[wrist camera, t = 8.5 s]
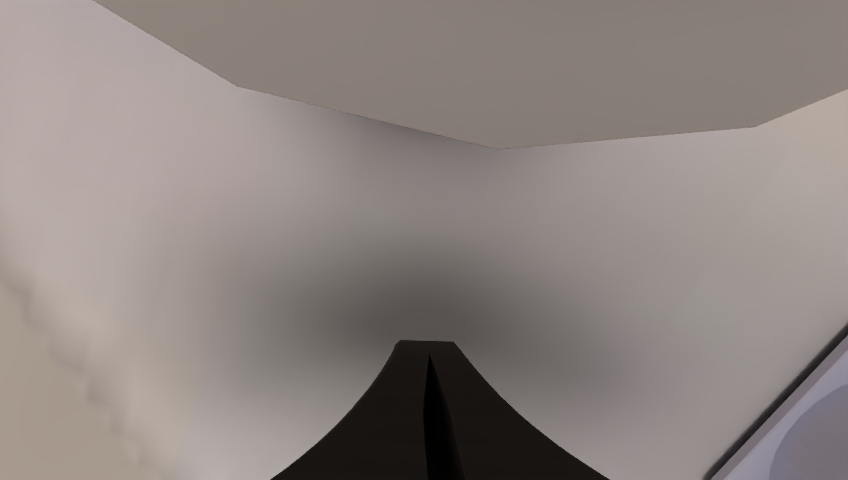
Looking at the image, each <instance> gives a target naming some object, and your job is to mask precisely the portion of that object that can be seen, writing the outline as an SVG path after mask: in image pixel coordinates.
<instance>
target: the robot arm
mask: <svg viewBox="0 0 848 480" xmlns="http://www.w3.org/2000/svg"><path fill="white" fill-rule="evenodd" d="M270 480H609V479H608V478H606V477H604V476H603V475H601V474H600V473H598V472H597V471H595V470H594V469H592V468H591V467H589V466H588V465H586V464H585V463H583V462H581V461H580V460H578V459H577V458H575V457H574V456H572V455H571V454H570V453H568V452H567V451H565V450H564V449H562V448H561V447H560V446H558V445H557V444H556V443H554V442H553V441H552V440H550V439H549V438H548V437H547V436H545V435H544V434H543V433H542V432H540V431H539V430H538V429H536V428H535V427H534V426H533V425H531V424H530V423H529V422H528V421H527V420H525V419H524V418H523V417H522V416H521V415H520V414H519V413H518V412H516V411H515V410H514V409H513V408H512V407H511V406H510V405H509V404H508V403H507V402H506V401H505V400H504V399H503V398H502V397H501V396H500V395H499V394H498V393H497V392H496V391H495V390H494V389H493V388H492V387H491V386H490V385H489V384H488V382H487V381H486V380H485V379H484V378H483V377H482V376H481V375H480V373H479V372H478V371H477V370H476V369H475V368H474V366H473V365H472V364H471V363H470V361H469V360H468V359H467V358H466V356H465V355H464V354H463V353H462V351H461V350H460V349H459V348H458V346H457V345H456V344H455V343H454V342H445V341H411V340H400V341H399V342H398V343H397V344H396V345H395V347H394V350H393V352H392V354H391V356H390V358H389V359H388V361H387V363H386V364H385V366H384V367H383V369H382V370H381V372H380V373H379V375H378V376H377V378H376V379H375V380H374V382H373V383H372V385H371V386H370V387H369V389H368V390H367V391H366V392H365V393H364V395H363V396H362V397H361V398H360V399H359V401H358V402H357V403H356V404H355V405H354V407H353V408H352V409H351V410H350V411H349V412H348V413H347V414H346V416H345V417H344V418H343V419H342V420H341V421H340V422H339V423H338V424H337V425H336V426H335V427H334V428H333V429H332V430H331V431H330V432H329V433H328V434H327V435H325V436H324V437H323V438H322V439H321V440H320V441H319V442H318V443H317V444H315V445H314V446H313V447H312V448H311V449H310V450H308V451H307V452H306V453H305V454H304V455H302V456H301V457H300V458H299V459H298V460H296V461H295V462H294V463H292V464H291V465H290V466H289V467H287V468H286V469H285V470H283V471H282V472H281V473H279V474H278V475H276V476H275V477H273V478H272V479H270ZM711 480H848V335H847V336H846V337H845V338H844V339H843V340H842V341H841V343H840V344H839V345H838V346H837V347H836V348H835V349H834V350H833V351H832V352H831V353H830V354H829V355H828V356H827V357H826V358H825V359H824V360H823V361H822V363H821V364H820V365H819V366H818V367H817V368H816V369H815V370H814V371H813V372H812V373H811V374H810V375H809V376H808V377H807V378H806V379H805V380H804V381H803V383H802V384H801V385H800V386H799V387H798V388H797V389H796V390H795V391H794V392H793V393H792V394H791V395H790V396H789V397H788V398H787V399H786V400H785V402H784V403H783V404H782V405H781V406H780V407H779V408H778V409H777V410H776V411H775V412H774V413H773V414H772V415H771V416H770V417H769V418H768V419H767V420H766V422H765V423H764V424H763V425H762V426H761V427H760V428H759V429H758V430H757V431H756V432H755V433H754V434H753V435H752V436H751V437H750V438H749V439H748V440H747V442H746V443H745V444H744V445H743V446H742V447H741V448H740V449H739V450H738V451H737V452H736V453H735V454H734V455H733V456H732V457H731V458H730V459H729V460H728V462H727V463H726V464H725V465H724V466H723V467H722V468H721V469H720V470H719V471H718V472H717V473H716V474H715V475H714V476H713V477H712V478H711Z"/></svg>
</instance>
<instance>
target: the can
mask: <svg viewBox="0 0 848 480" xmlns="http://www.w3.org/2000/svg"><path fill="white" fill-rule="evenodd" d="M93 1H95V2H97V3H98V4H100V5H102V6H103V7H105V8H107V9H108V10H110V11H112V12H113V13H115V14H117V15H118V16H120V17H122V18H123V19H125V20H127V21H128V22H130V23H132V24H133V25H135V26H137V27H138V28H140V29H142V30H144V31H145V32H147V33H149V34H150V35H152V36H154V37H155V38H157V39H159V40H160V41H162V42H164V43H165V44H167V45H169V46H170V47H172V48H174V49H175V50H177V51H179V52H180V53H182V54H184V55H185V56H187V57H189V58H190V59H192V60H194V61H195V62H197V63H199V64H200V65H202V66H204V67H206V68H207V69H209V70H211V71H212V72H214V73H216V74H217V75H219V76H221V77H222V78H224V79H226V80H227V81H229V82H231V83H232V84H234V85H236V86H239V87H243V88H247V89H251V90H255V91H259V92H264V93H268V94H272V95H276V96H280V97H284V98H288V99H292V100H297V101H301V102H305V103H309V104H313V105H317V106H321V107H325V108H330V109H334V110H338V111H342V112H346V113H350V114H354V115H358V116H363V117H367V118H371V119H375V120H379V121H383V122H387V123H391V124H396V125H400V126H404V127H408V128H412V129H416V130H420V131H424V132H429V133H433V134H437V135H441V136H445V137H449V138H453V139H457V140H462V141H466V142H470V143H474V144H478V145H482V146H486V147H490V148H495V149H508V148H520V147H531V146H543V145H554V144H566V143H577V142H589V141H600V140H612V139H623V138H635V137H646V136H658V135H669V134H681V133H692V132H704V131H715V130H727V129H738V128H750V127H756V126H758V125H761V124H763V123H766V122H768V121H770V120H773V119H775V118H778V117H780V116H783V115H785V114H788V113H790V112H792V111H795V110H797V109H800V108H802V107H805V106H807V105H810V104H812V103H814V102H817V101H819V100H822V99H824V98H827V97H829V96H831V95H834V94H836V93H839V92H841V91H844V90H846V89H848V0H93Z"/></svg>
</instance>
